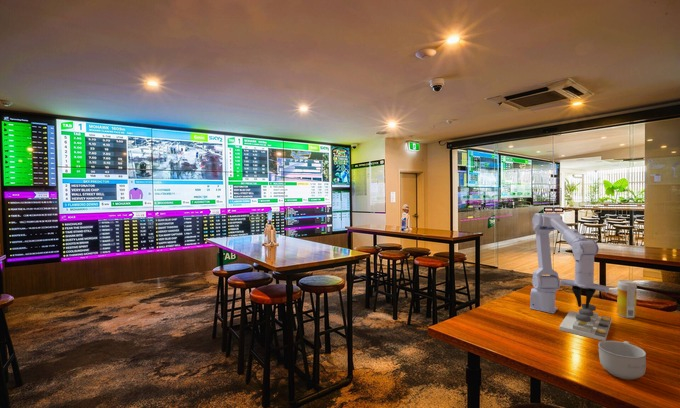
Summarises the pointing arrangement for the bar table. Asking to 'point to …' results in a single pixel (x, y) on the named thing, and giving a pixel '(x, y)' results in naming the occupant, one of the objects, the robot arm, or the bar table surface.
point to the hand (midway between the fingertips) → (583, 307)
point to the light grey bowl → (622, 359)
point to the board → (587, 326)
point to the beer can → (626, 299)
